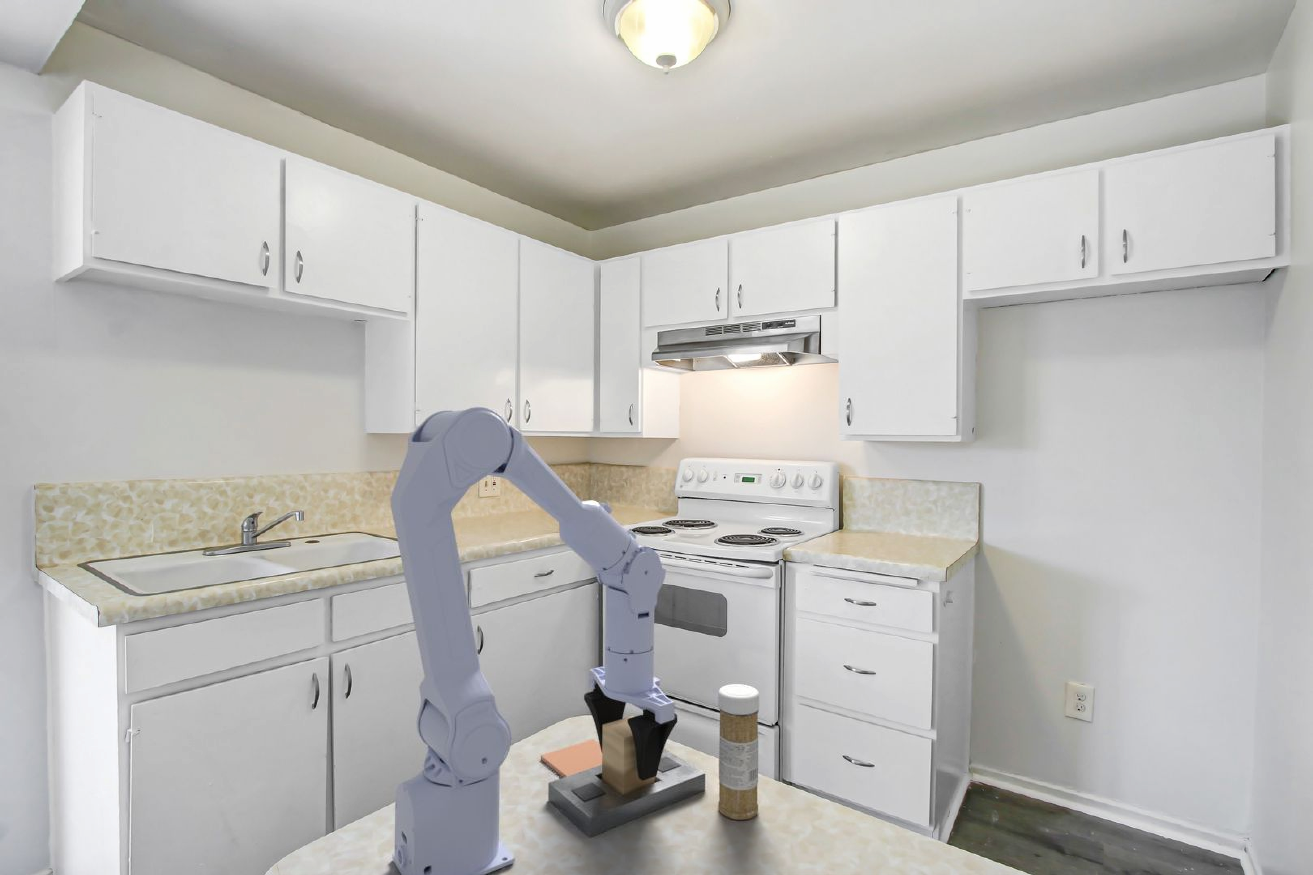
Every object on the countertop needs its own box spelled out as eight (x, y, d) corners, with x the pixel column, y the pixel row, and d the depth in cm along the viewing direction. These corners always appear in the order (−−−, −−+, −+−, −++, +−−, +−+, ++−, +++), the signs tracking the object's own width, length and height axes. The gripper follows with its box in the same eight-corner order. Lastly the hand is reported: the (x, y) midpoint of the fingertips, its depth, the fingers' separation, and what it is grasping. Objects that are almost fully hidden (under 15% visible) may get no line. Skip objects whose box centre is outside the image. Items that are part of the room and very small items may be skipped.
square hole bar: (589, 837, 68) (590, 816, 69) (548, 800, 76) (548, 781, 76) (705, 789, 78) (705, 772, 78) (658, 761, 85) (658, 744, 85)
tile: (572, 784, 79) (572, 780, 79) (540, 759, 86) (540, 755, 86) (626, 765, 84) (626, 761, 84) (593, 742, 90) (593, 739, 90)
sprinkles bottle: (737, 795, 77) (738, 679, 77) (767, 812, 74) (767, 690, 74) (709, 808, 74) (709, 688, 74) (738, 826, 71) (739, 700, 71)
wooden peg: (623, 809, 74) (623, 737, 74) (601, 793, 77) (602, 724, 77) (654, 797, 77) (655, 728, 77) (632, 782, 80) (633, 715, 80)
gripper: (696, 656, 74) (695, 778, 74) (622, 627, 85) (621, 733, 85) (645, 668, 70) (644, 798, 69) (575, 636, 81) (573, 748, 81)
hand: (628, 763), depth 77 cm, fingers open, 7 cm apart
